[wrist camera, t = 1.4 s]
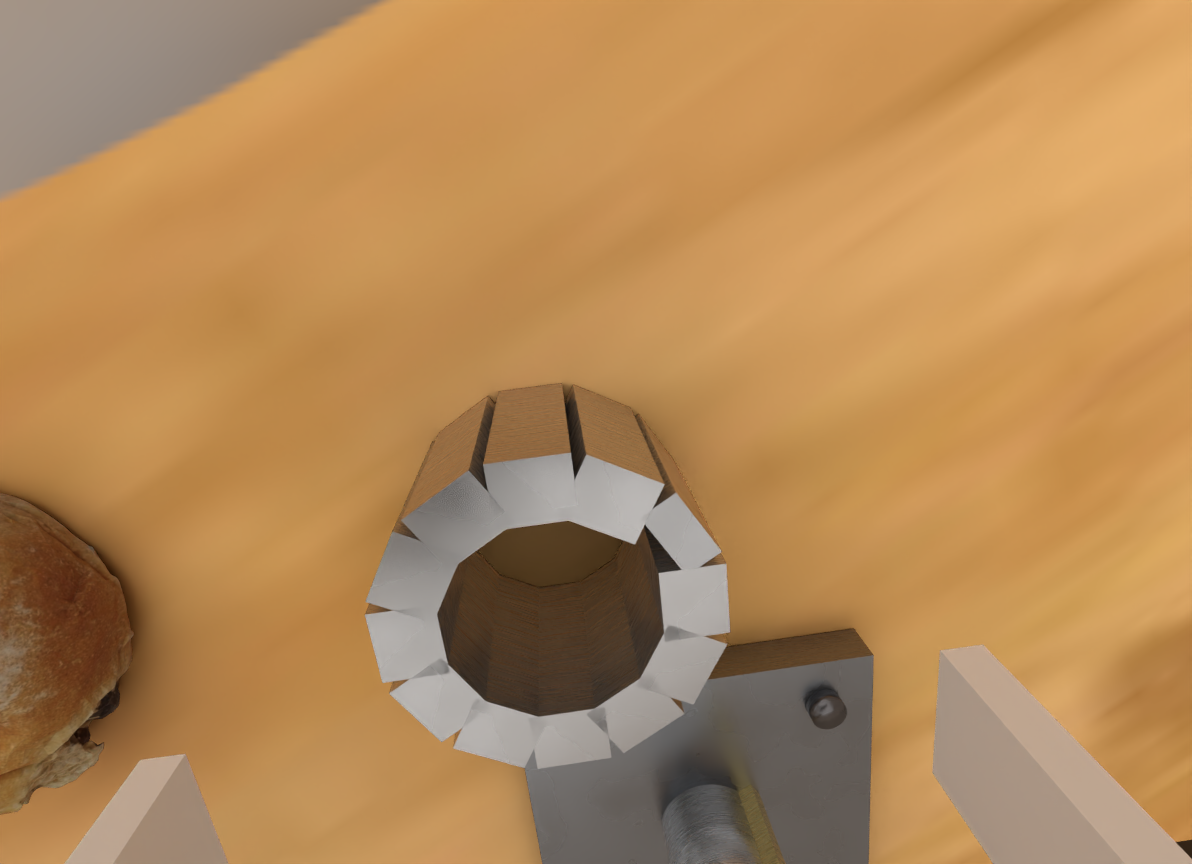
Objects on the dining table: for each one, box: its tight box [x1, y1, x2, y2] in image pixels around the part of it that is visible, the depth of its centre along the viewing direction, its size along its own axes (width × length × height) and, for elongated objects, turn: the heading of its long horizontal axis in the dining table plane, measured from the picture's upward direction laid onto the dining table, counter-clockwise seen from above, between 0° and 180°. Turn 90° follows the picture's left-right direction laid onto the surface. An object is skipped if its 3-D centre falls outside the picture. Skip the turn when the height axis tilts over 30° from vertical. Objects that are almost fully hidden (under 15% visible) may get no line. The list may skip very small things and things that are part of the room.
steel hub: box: [365, 383, 730, 769], centre depth 19 cm, size 8×8×6 cm
